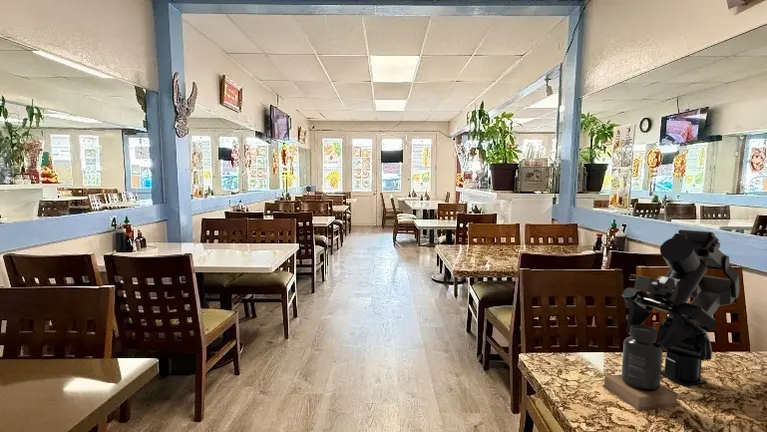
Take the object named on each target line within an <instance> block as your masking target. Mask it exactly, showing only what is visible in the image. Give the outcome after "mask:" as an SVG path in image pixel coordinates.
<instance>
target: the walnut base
mask: <svg viewBox="0 0 767 432" xmlns="http://www.w3.org/2000/svg"><path fill="white" fill-rule="evenodd" d="M603 383H604V384H602V387H603V388H604V389H605V390H607V391H609V392H610V393H612V394H614V395H615V396H616V397H617V398H619V399H621V400H622V401H623V402H625V403H626V404H628V405H630V406H631V407H632V408H634V409H636V410H637V411H644V410H652V409H653V410H654V409H662V408H672V407H679V403H678V393H677V392H676V391H674V390H672V389H670V388H668V387H666V386H665V385H663V384H661V383H660V388H659V389H658V390H656V391H644V390H639V389H636V388H633V387H631V386H629V385H627V384H626V383H624V381H623V380H622V373H620V374H611V375H604V382H603Z"/></svg>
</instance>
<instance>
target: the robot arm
mask: <svg viewBox="0 0 767 432" xmlns="http://www.w3.org/2000/svg"><path fill="white" fill-rule="evenodd" d="M677 232H678V233H675V234H674V235H673V236H671V238H669V239H667V240H665V241H664V242H663V243H662V244H661V245H660V248H659V252H660V255H661V256H662V258H663V259H664V261H665V263H666V265H667V266H668V268H670V269H669V270H668V271H667V274H666V275H664V276H663V275H659V276H658V277H657V278H652V277H648V276H643V275H639V274H637V277H636V280H635V284H634V288H633V287H627V288H625V289H624V291H623V292H622V294H621V297H623V298H624V302H626V303H627V305H628V319H627V323H626V324H627V325H626V330H625V331H626V333H627V334H629V332H630V326H631V325H634V324H638V325H643V324H642V323H644V321H646V320H647V319H648V317H649V316H650V315H651V313H650V312H651V311H652V310H653V309H656V310H660V311H662V312H666V313H669V314H668V315H667V316H666V317H665V320H664V321H663V322H661V323H660V325H659V327H658V343H659V344H660V345H661V347H662V349H663V350H665V351H666V357H664V358H665V359H664V370H662V369H661V376H664V377H666V378H668V379H670V380H672V381H674V382H676V383H678V384H679V385H681V386H693V385H694V386H697V385H705V384H706V385H707V384H708V381H707V380H706V379H704V378H702V377H701V376H702V362H705V361H706V360H707V361H711V360H712V354H713V351H712V344H711V341H710V337H709V333H712V332H713V330H714V328H715V327H716V325H717V323H716V318H715V317H714V315H715V313H716V312H717V310H718V309H719V308H720V306H721V307H722V306H728V305H732V303H733V302H735V300H736V299H738V298H739V296H740V291H741V290H740V275H739V274H738V272H737V271H736V270H735V269H734V268H733V267H732V266H731V264H730V256H729V255H726V254H725V253H723V252H722V251H721V250H720V248H721V242H719V238H718V237H716V235H715V234H716V233H714V232H712V231H704V230H690V229H679V230H678V231H677ZM708 269H713V270H721V271H722V272H723V274H724V275H725V276H726V277H727V278H723V277H716V276H711V275H707V271H708ZM690 298H693V300H692V301H691V302H690V303H688V302H689V300H690ZM708 332H709V333H708Z"/></svg>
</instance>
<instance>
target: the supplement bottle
mask: <svg viewBox="0 0 767 432" xmlns="http://www.w3.org/2000/svg"><path fill="white" fill-rule="evenodd" d="M658 332H659V330H658V329H656V328H655V327H652V326H649V325H646V324H645V325H644V324H641V325H638V324H634V325H631V326H630V332H629V333H628V334H629V335H630V336H628V337H626V338H625V339H624V340H623V347H622V365H621V374H622V380H623V381H624V383H626V384H627V385H629V386H631V387H633V388H636V389H639V390H644V391H656V390H658V389H659V388H660V384H661V383H662V382H661V381H662V380H661V379H662V374H661V370H662V366H663V365H662V364H663V350H664V349H662V347H661V345H660V344H659V341H658V340H659V333H658Z"/></svg>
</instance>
